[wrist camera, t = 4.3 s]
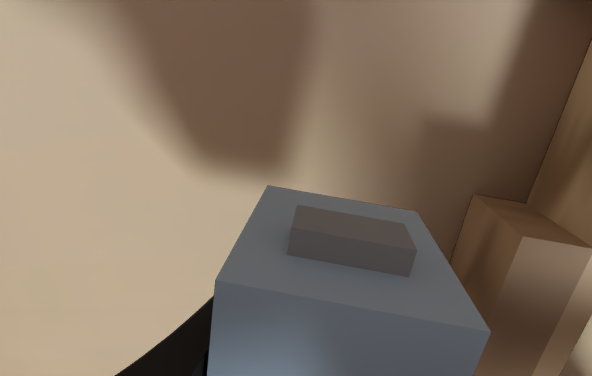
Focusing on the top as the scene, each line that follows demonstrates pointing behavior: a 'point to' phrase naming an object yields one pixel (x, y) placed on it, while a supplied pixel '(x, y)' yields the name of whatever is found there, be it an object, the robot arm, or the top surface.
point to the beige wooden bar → (536, 253)
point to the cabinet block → (340, 295)
